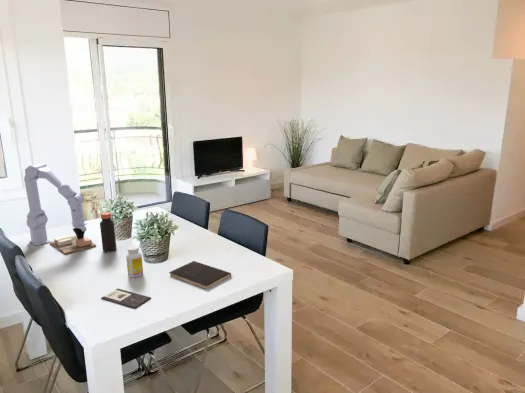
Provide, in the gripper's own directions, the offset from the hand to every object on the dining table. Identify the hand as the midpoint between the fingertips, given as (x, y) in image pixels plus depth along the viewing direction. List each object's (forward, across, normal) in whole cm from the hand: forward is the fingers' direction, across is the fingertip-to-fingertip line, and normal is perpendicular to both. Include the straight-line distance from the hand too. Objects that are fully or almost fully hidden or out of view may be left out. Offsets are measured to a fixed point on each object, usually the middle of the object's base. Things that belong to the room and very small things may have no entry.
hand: (80, 240), depth 232 cm
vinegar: (+2, -19, -7) cm, 20 cm away
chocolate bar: (+3, -74, +12) cm, 75 cm away
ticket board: (+2, +2, +4) cm, 5 cm away
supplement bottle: (+2, -56, -2) cm, 56 cm away
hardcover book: (+3, -78, -22) cm, 81 cm away
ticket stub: (+1, -4, 0) cm, 4 cm away
